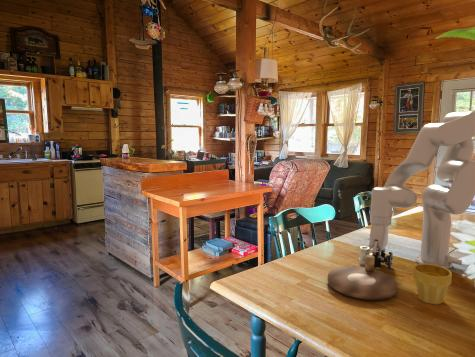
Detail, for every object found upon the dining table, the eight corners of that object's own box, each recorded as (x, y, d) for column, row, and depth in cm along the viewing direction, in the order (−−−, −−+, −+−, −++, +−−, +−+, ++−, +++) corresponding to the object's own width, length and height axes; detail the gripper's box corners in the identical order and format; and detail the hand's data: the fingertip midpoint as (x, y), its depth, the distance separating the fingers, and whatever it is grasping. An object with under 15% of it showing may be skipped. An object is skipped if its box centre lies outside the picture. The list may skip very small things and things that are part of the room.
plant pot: (407, 299, 104) (409, 270, 103) (416, 288, 112) (418, 260, 110) (445, 311, 97) (448, 279, 96) (452, 298, 105) (455, 269, 103)
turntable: (403, 280, 115) (404, 262, 114) (387, 307, 98) (389, 285, 97) (340, 265, 128) (341, 249, 127) (317, 286, 111) (317, 267, 110)
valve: (356, 265, 132) (389, 271, 125) (357, 249, 131) (390, 255, 124) (360, 259, 137) (392, 266, 131) (361, 244, 136) (393, 249, 130)
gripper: (376, 213, 137) (374, 256, 139) (364, 222, 123) (361, 269, 126) (396, 216, 133) (393, 260, 135) (385, 226, 119) (382, 274, 121)
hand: (378, 264), depth 130 cm, fingers open, 5 cm apart
